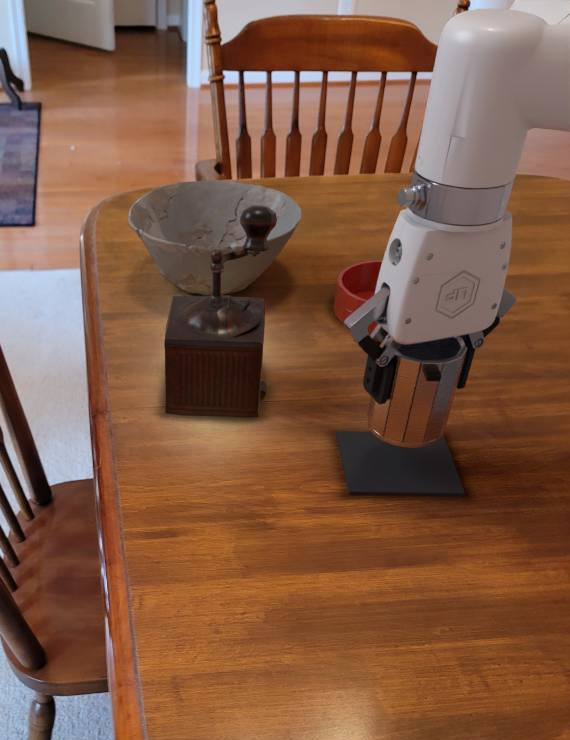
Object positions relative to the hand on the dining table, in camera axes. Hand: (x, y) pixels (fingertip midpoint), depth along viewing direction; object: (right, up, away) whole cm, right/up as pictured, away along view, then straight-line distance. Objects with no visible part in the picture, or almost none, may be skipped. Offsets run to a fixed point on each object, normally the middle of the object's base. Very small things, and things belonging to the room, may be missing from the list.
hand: (413, 387), depth 78 cm
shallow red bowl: (+5, +15, +30) cm, 34 cm away
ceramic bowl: (-17, +21, +37) cm, 46 cm away
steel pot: (0, -3, +3) cm, 4 cm away
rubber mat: (0, -7, +6) cm, 9 cm away
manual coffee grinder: (-17, +4, +18) cm, 25 cm away
